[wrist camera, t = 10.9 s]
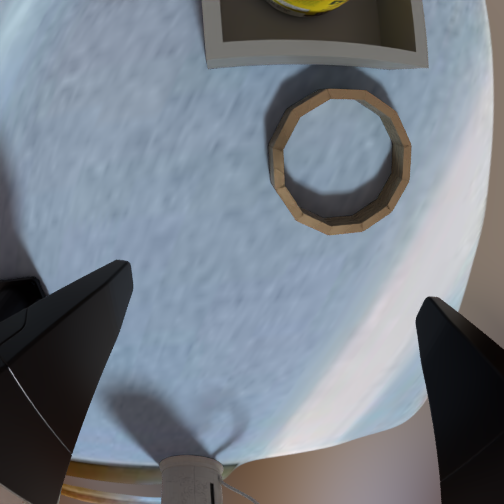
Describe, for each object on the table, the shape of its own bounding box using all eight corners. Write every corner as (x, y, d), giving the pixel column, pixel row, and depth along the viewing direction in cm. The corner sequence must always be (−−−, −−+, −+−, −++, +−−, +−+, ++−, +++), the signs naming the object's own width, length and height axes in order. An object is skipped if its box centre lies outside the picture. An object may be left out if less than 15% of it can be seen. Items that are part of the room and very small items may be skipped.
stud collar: (273, 231, 22) (277, 241, 20) (264, 90, 17) (268, 89, 16) (394, 219, 22) (404, 227, 21) (399, 93, 18) (412, 94, 17)
